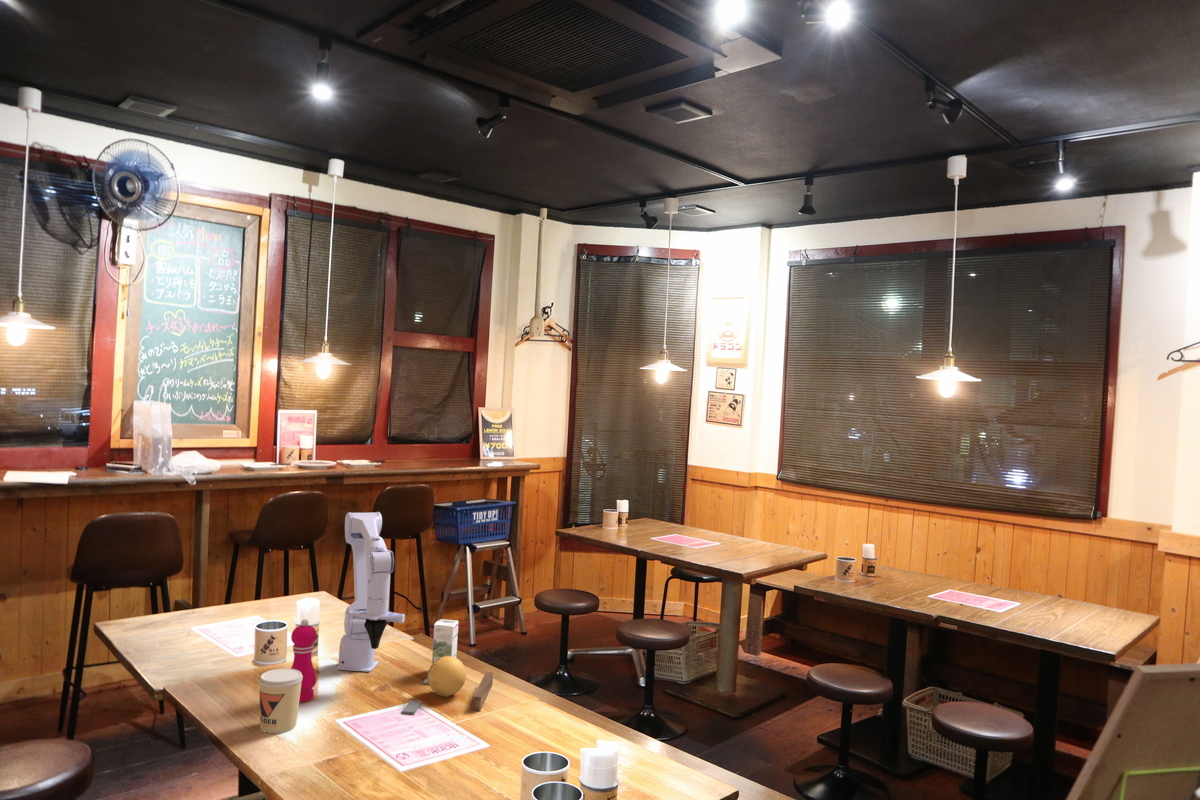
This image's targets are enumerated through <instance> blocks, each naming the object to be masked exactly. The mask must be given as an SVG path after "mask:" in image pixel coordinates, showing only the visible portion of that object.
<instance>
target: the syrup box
mask: <svg viewBox="0 0 1200 800" xmlns="http://www.w3.org/2000/svg"><path fill="white" fill-rule="evenodd" d="M458 635H459V620H453V619H442V618H441V619H438V620H437V621H435V623H434V624H433V639H432V640H433V641H432V656H431V657H432V658H431V665H432V664H433V663H434V662H435V661H436V660H437V659H438V658H440V657H445V656H451V657H455V658H457V652H458Z"/></svg>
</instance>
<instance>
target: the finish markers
mask: <svg viewBox="0 0 1200 800" xmlns="http://www.w3.org/2000/svg"><path fill="white" fill-rule="evenodd" d="M422 684H423V685H424V686H425V685H426V686H430V685H429V684H428V676H427V677H425V679H424V680H423V682H422ZM421 705H422V701H421V700H408V703H407V704H406V705H405V706H404V708H403V709H402V711H401V714H403V715H415V714H416V712H417V710H419V708H420V706H421Z"/></svg>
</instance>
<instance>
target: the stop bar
mask: <svg viewBox="0 0 1200 800" xmlns="http://www.w3.org/2000/svg"><path fill="white" fill-rule="evenodd" d="M493 683H494V672H491V671H486V672H485V673H484V675H483V677H482V678H481V680H480V682H479V685H478V686H477V688H476V691H475V692H474V694H473V697H472V708H471V709H472V711H473V712H474V711H475V712H477V711H478V712H481V710H482V708H483V706H484V704H485V702H486V699H487V697H488V695H489V693H490V691H491V690H492V687H493Z"/></svg>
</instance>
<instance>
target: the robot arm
mask: <svg viewBox="0 0 1200 800" xmlns="http://www.w3.org/2000/svg"><path fill="white" fill-rule="evenodd" d="M382 516H383V515H382V514H381V512H379V511H376V512H351V511H350V512H347V513H346V515H345V518H344V538H345V542H346V544H348V545H351V549H352V557H353V558H352V559H353V560H352V561H353V586H354V587H353V588H354V589H353V590H354V591H353V592H354V601H353V602H352V603H350V605H349V606H347V607H346V609H345V612H344V623H343V626H344V633H345V634H344V635H343V636H342V637H341V638H340V639H341V640H340V642H339V649H338V650H339V651H338V664H337V665H338V667H337V668H336V669H337V670H339V671H340V670H341V671H353V672H367V673H369V672H372V671H373V669H375V667H377V666H378V664H379V663H380V662H379V661H378V660H375V657H376V656H375V654H376V650H377V649H378V648H379V647H380V643H381V638H382V636H383V634H384V631H385V629H386V628H387V625H389V622H390V623H391V622H392V623H399V624H403V623H405V619H406V618H405V616H406V614H405V613H398V612H392V611H389V603H390V589H391V587H390V585H391V574H392V573H393V572H394V567H395V557H394V552H393V551H392V550H390V549H388V548H387V545H386V542H385V540H384V539H383V537H381V536H380V534H381V531H382V525H383V517H382Z"/></svg>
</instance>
